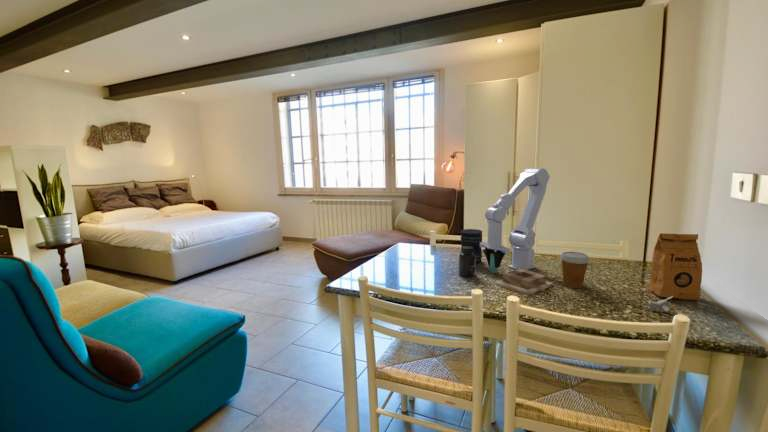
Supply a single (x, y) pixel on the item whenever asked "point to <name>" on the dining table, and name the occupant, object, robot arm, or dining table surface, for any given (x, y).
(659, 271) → the coffee package
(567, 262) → the disposable coffee cup
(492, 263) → the peg
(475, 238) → the storage jar
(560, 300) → the dining table surface
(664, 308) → the dog figurine
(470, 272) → the supplement bottle
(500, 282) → the socket board
